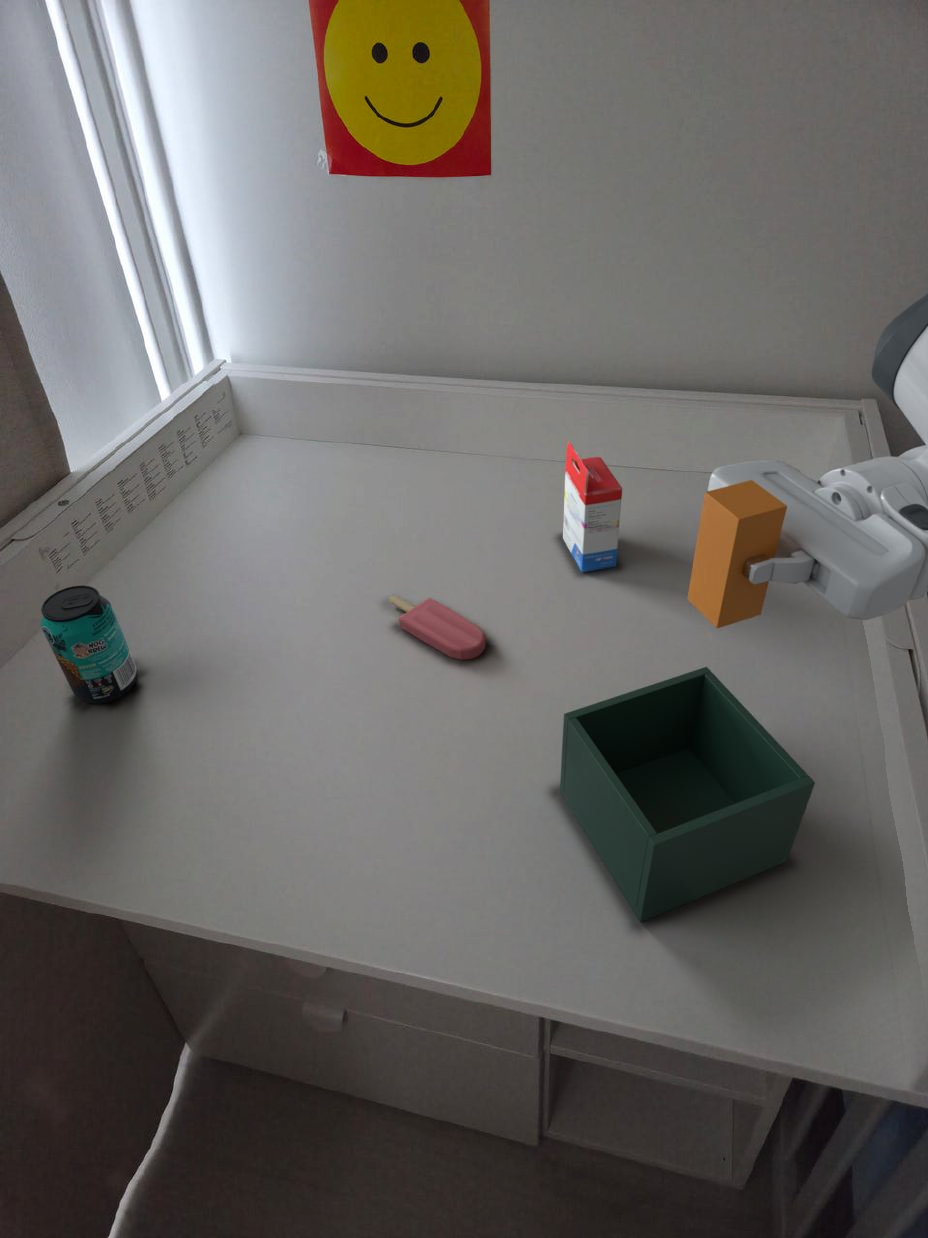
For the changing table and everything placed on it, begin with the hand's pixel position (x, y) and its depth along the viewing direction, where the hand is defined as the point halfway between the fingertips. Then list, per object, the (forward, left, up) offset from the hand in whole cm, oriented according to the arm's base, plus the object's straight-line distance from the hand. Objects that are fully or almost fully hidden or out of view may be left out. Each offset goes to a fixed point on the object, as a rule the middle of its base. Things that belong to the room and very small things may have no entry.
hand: (726, 553), depth 67 cm
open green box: (-8, +8, -23) cm, 25 cm away
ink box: (+33, -6, -23) cm, 41 cm away
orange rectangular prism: (0, -1, -6) cm, 6 cm away
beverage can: (+33, +55, -23) cm, 68 cm away
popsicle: (+27, +18, -23) cm, 40 cm away
